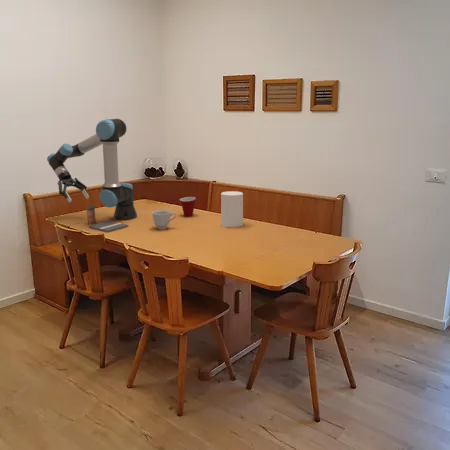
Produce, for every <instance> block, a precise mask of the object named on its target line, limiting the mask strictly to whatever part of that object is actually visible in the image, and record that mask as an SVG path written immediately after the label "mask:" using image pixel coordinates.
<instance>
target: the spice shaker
mask: <svg viewBox="0 0 450 450" xmlns="http://www.w3.org/2000/svg"><path fill="white" fill-rule="evenodd" d="M85 209H86V219H87V225H88V226H91V225H95V224H97V221H96V220H97V219H96V208H95V205H87V206H86V208H85Z"/></svg>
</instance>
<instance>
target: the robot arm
mask: <svg viewBox="0 0 450 450" xmlns="http://www.w3.org/2000/svg"><path fill="white" fill-rule="evenodd" d="M127 128H128V127H127V124H126V123H125V121H124V120H122V119H120V118H107V119H106V118H105V119H102V120H100V121H99V122H98V123H97V124H96V126H95V133H96V134H93V135H92V136H90V137H88V138H85V139H84V140H82V141H80V142H78V143H76V144H74V145H70V144H69V143H63V144H62V145H61V146H60V147H59V148H58V150H57V151H56V153H51V154H49V155H48V156H47V158H46V162H48V165H49V166H50V167H51V168H52V171H53V172H54V173H55V175H56V177H57V178H58V179H59V180H58V181H57V186H58V194H59V195H61V196H62V197H64V199H66V200H67V202H68V203H69V204H71V203H72V201H73V200H72V198H71V196H70V195H69V193H68V192H67V188H68V187H74V188H76V189H78V190H80V191H81V192H82V195H83V196H84V197H85V199H86V200H88V199H89V198H90V195H89V194H88V191H87V188H88V186H87V185H85V184H84V183H82V182H81V181H80V180H79V179H78V178H77V177H75V178H72V175H71V174H70V172H69V170H68V168H66V166H65V164H64V163H65V162H66V161H67V160H68V159H71V158H77V157H82V156H84V155H85V154H86V153H88V152H90V151H92V150H94V149H96V148H97V147H100V146H101V145H102V152H103V153H102V154H103V174H104V183H103V184H102V190H101V191H100V192H99V196H98V197H99V201H100V203H101V204H102V205H103V206H104V207H106V208H114V207H115V209H114V213H113V219H115V220H118V221H126V220H133V219H136V218H137V217H138V214H137V211H136V208H135V206H134V204H135V201H134V188H133V187H134V186H133V184H132V183H127V182H126V183H125V182H119V163H118V162H119V160H118V144H119V143H120V138H121V137H123V136H124V135H126V134H127V133H126V132H127Z"/></svg>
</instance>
